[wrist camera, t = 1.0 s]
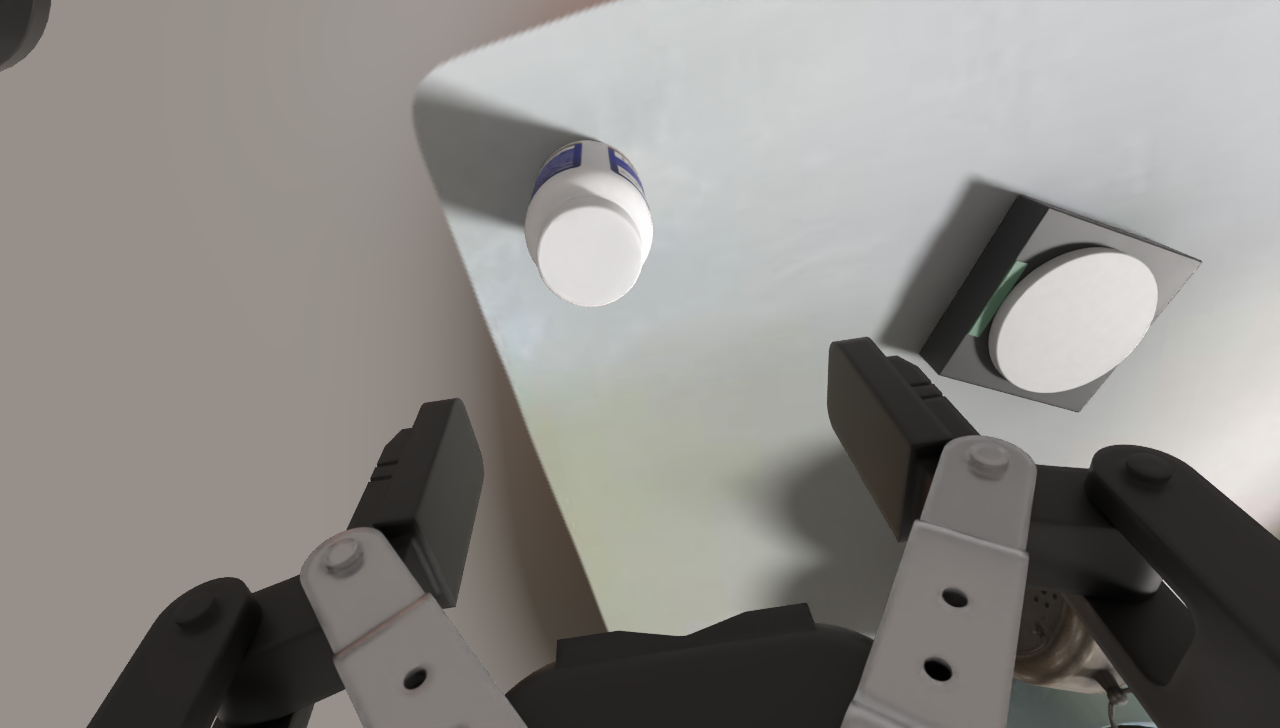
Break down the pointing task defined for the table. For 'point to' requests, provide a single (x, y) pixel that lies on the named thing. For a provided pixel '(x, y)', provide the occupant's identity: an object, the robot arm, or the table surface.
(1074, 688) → the alarm clock
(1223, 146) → the table surface
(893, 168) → the table surface
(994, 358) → the scale
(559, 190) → the pill bottle
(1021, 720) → the teal ceramic cup
